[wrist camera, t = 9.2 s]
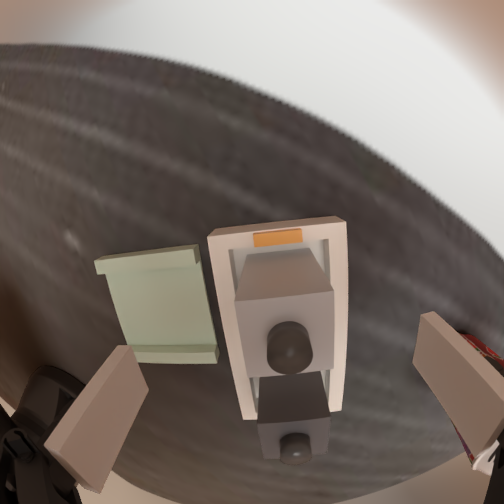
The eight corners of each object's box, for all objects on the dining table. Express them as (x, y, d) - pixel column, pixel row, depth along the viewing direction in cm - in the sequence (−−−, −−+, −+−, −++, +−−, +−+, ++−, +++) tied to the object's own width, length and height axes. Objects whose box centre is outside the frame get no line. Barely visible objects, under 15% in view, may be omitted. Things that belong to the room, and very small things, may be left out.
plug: (254, 310, 21) (245, 396, 12) (246, 254, 20) (229, 317, 11) (312, 304, 21) (339, 387, 12) (309, 247, 20) (342, 305, 10)
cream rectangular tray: (245, 398, 25) (235, 485, 15) (215, 228, 21) (167, 275, 11) (335, 389, 24) (357, 474, 14) (335, 215, 20) (395, 251, 10)
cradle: (132, 352, 24) (126, 361, 23) (103, 255, 22) (94, 260, 20) (219, 352, 24) (216, 363, 22) (198, 243, 21) (193, 248, 20)
